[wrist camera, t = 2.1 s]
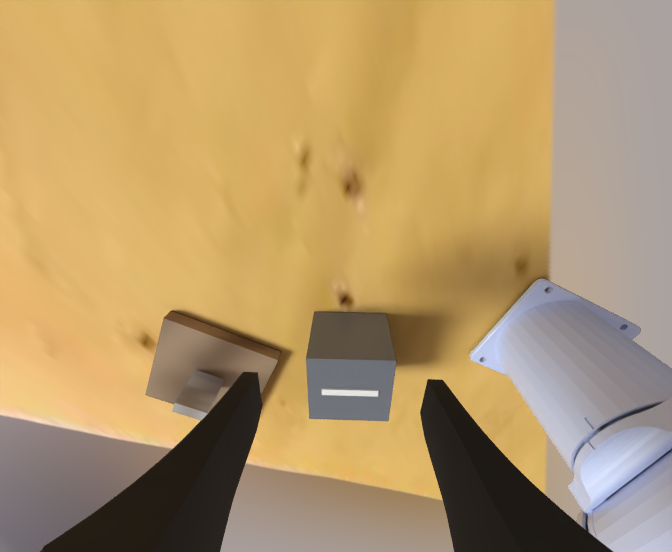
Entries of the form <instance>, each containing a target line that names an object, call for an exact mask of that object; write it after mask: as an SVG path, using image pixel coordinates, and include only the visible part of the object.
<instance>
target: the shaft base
mask: <svg viewBox="0 0 672 552" xmlns="http://www.w3.org/2000/svg"><path fill="white" fill-rule="evenodd" d="M280 353H281V352H280V351H278V350H275V349H272V348H270V347H267V346H264V345H262V344H259V343H256V342H254V341H251V340H248V339H246V338H243V337H240V336H238V335H235V334H232V333H229V332H227V331H224V330H221V329H219V328H216V327H213V326H211V325H208V324H205V323H203V322H200V321H197V320H195V319H192V318H189V317H187V316H184V315H181V314H179V313H176V312H173V311H170V312H169V313H168V314H167V315H166V316H165V317H164V319H163V323H162V327H161V332H160V336H159V340H158V344H157V348H156V353H155V357H154V361H153V365H152V369H151V374H150V378H149V382H148V386H147V390H146V394H145V395H147V396H150V397H153V398H156V399H159V400H162V401H165V402H169V403H172V404H174V407H173V410H172V411H173V412H176V413H179V414H182V415H185V416H189V417H192V418H195V419H198V420H202V419H203V418H204V417H205V416H206V415H207V414H208V413H209V411H210V410H211V409H212V408H213V407H214V406H215V405H216V404H217V402H218V401H219V400H220V399H221V398H222V397H223V395H224V394H225V393H226V392H227V391H228V389H229V388H230V387H231V386H232V385H233V383H234V382H235V381H236V380H237V378H238V377H239V376H240V375H241V373H243V372H258V378H259V385H260V393H262V392H263V390H264V388H265V386H266V384H267V382H268V380H269V378H270V376H271V374H272V372H273V370H274V368H275V366H276V364H277V362H278V360H279V356H280Z"/></svg>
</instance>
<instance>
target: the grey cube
mask: <svg viewBox="0 0 672 552" xmlns="http://www.w3.org/2000/svg"><path fill="white" fill-rule="evenodd" d="M306 365H307V384H308V403H309V419H333V420H367V421H389V414H390V406H391V399H392V391H393V384H394V376H395V369H396V356H395V352H394V347H393V343H392V338H391V334H390V330H389V325H388V321H387V316H386V313H346V312H314V316H313V322H312V327H311V333H310V339H309V345H308V351H307V356H306Z"/></svg>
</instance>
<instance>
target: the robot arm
mask: <svg viewBox="0 0 672 552" xmlns="http://www.w3.org/2000/svg"><path fill="white" fill-rule="evenodd" d="M547 287H549V288H548V289H547V290H545V289H546V288H547ZM640 331H641V329H640V327H638V326H637V325H635V324H633V323H631V322H629V321H627V320H625V319H623V318H621V317H619V316H618V315H616V314H613V313H611V312H609V311H608V310H606V309H604V308H601V307H600V306H598V305H596V304H594V303H592V302H590V301H588V300H586V299H584V298H582V297H580V296H578V295H576V294H574V293H571V292H570V291H568V290H566V289H564V288H562V287H560V286H558V285H556V284H554V283H552V282H550V281H548V280H546V279H543V278H542V279H538V280H536V281H535V282H534V283H533V284H532V285H531V286H530V287H529V288H528V289H527V291H526V292H525V293H524V294H523V295H522V296H521V297H520V298H519V299H518V300H517V302H516V303H515V304H514V305H513V306H512V307H511V308H510V309H509V310H508V312H507V313H506V314H505V315H504V316H503V317H502V318H501V319H500V320H499V322H498V323H497V324H496V325H495V326H494V327H493V328H492V329H491V330H490V331H489V333H488V334H487V335H486V336H485V337H484V338H483V339H482V340H481V341H480V343H479V344H478V345H477V346H476V347H475V348H474V349H473V350H472V351H471V353H470V358H471V360H472V361H474V362H476V363H478V364H481V365H483V366H486V367H488V368H490V369H493V370H495V371H498V372H500V373H502V374H505V375H507V376H508V377H509V378H510V379H511V381H512V382H513V384H514V385H515V387H516V388H517V390H518V391H519V393H520V394H521V396H522V397H523V399H524V400H525V402H526V403H527V405H528V406H529V408H530V409H531V411H532V412H533V414H534V415H535V417H536V418H537V420H538V421H539V423H540V424H541V426H542V427H543V429H544V430H545V432H546V433H547V435H548V436H549V438H550V439H551V441H552V442H553V444H554V445H555V447H556V448H557V450H558V451H559V453H560V454H561V455H562V457H563V458H564V460H565V462H566V463H567V464H568V466H569V467H570V469H571V470H572V472H573V473H574V475H575V477H574V479H573V481H572V482H571V483H570V484H569V486H568V488H569V489H570V491H571V492H572V494H573V495H574V497H575V499H576V500H577V502H578V503H579V505H580V507H581V508H582V510H581V511H580V513H579V514H578V516H577V520H576V521H574V520H573V519H572V518H571V517H570V516H568V515H567V514H566V513H565V512H564V511H563V510H562V509H560V508H559V507H558V506H557V505H556V504H555V503H554V502H552V501H551V500H550V499H549V498H548V497H547V496H546V495H545V494H543V493H542V492H541V491H540V490H539V489H538V488H537V487H536V486H535V485H534V484H533V483H532V482H531V481H529V480H528V479H527V478H526V477H525V476H524V475H523V474H522V473H521V472H520V471H519V470H518V469H517V468H516V467H515V466H514V465H513V464H512V463H511V462H510V461H509V460H508V458H507V457H506V456H505V455H504V454H503V453H502V452H501V451H500V450H499V449H498V448H497V447H496V445H495V444H494V443H493V442H492V441H491V440H490V439H489V438H488V436H487V435H486V434H485V433H484V432H483V431H482V429H481V428H480V427H479V426H478V425H477V423H476V422H475V421H474V420H473V418H472V417H471V416H470V415H469V414H468V412H467V411H466V410H465V408H464V407H463V406H462V405H461V403H460V402H459V401H458V399H457V398H456V397H455V395H454V394H453V393H452V391H451V390H450V389H449V387H448V386H447V385H446V383H445V382H444V381H443V380H432V379H428V381H427V385H426V390H425V394H424V398H423V403H422V407H421V412H420V414H421V420H422V426H423V431H424V436H425V440H426V444H427V447H428V451H429V454H430V458H431V461H432V465H433V468H434V471H435V475H436V478H437V481H438V485H439V488H440V492H441V495H442V498H443V502H444V505H445V510H446V514H447V518H448V523H449V528H450V533H451V537H452V542H453V547H454V552H672V369H671V368H670V367H668V366H667V365H666V364H664V363H663V362H661V361H660V360H659V359H657V358H656V357H655V356H653V355H652V354H650V353H649V352H647V351H646V350H645V349H643V348H642V347H641V346H639V345H638V344H637V343H635V342H634V341H632V339H633V338H635V337H636V336H637V335H638V334H639V333H640ZM482 357H483V358H482ZM480 358H482V359H480ZM261 409H262V400H261V393H260V385H259V378H258V372H243V373H241V375H240V376H239V377H238V378H237V380H236V381H235V382H234V383H233V385H232V386H231V387H230V388H229V389H228V391H227V392H226V393H225V394H224V395H223V397H222V398H221V399H220V400H219V401H218V402H217V404H216V405H215V406H214V407H213V408H212V409H211V410H210V411H209V413H208V414H207V415H206V416H205V417H204V418H203V419H202V420H201V421H200V422H199V423H198V424H197V425H196V426H195V427H194V428H193V430H192V431H191V432H190V433H189V434H188V435H187V436H186V437H185V438H184V439H183V440H182V441H181V442H180V443H179V444H177V445H176V446H175V447H174V448H173V449H172V450H171V451H170V452H169V453H168V454H167V455H166V456H164V457H163V458H162V459H161V460H160V461H159V462H158V463H156V464H155V465H154V466H153V467H152V468H151V469H149V470H148V471H147V472H146V473H145V474H144V475H142V476H141V477H140V478H139V479H137V480H136V481H135V482H134V483H133V484H131V485H130V486H129V487H127V488H126V489H125V490H123V491H122V492H121V493H120V494H118V495H117V496H116V497H114V498H113V499H112V500H110V501H109V502H108V503H106V504H105V505H104V506H102V507H101V508H100V509H98V510H97V511H96V512H94V513H93V514H91V515H90V516H89V517H87V518H86V519H84V520H83V521H81V522H80V523H78V524H77V525H76V526H74V527H72V528H71V529H70V530H68V531H66V532H65V533H64V534H62V535H61V536H59V537H58V538H56V539H55V540H53V541H52V542H50V543H49V544H47V545H45V546H44V547H43V549H42V550H41V551H40V552H220V549H221V545H222V541H223V537H224V533H225V529H226V525H227V521H228V517H229V513H230V509H231V505H232V502H233V498H234V495H235V492H236V489H237V486H238V483H239V479H240V477H241V474H242V471H243V469H244V466H245V463H246V460H247V457H248V454H249V451H250V448H251V446H252V443H253V440H254V437H255V434H256V431H257V427H258V422H259V418H260V414H261Z"/></svg>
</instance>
